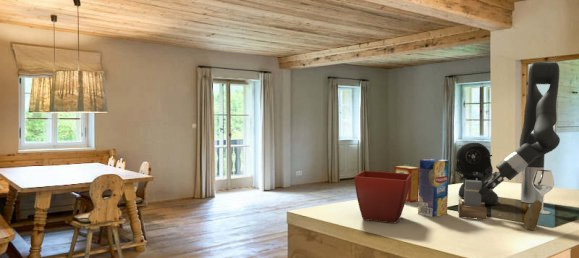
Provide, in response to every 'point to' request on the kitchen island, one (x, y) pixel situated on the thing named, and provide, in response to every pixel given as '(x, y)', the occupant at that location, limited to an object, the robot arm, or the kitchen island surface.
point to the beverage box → (433, 187)
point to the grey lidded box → (472, 193)
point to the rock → (532, 215)
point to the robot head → (475, 168)
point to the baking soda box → (414, 181)
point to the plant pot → (381, 195)
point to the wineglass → (543, 184)
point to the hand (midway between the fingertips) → (479, 192)
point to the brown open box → (472, 211)
